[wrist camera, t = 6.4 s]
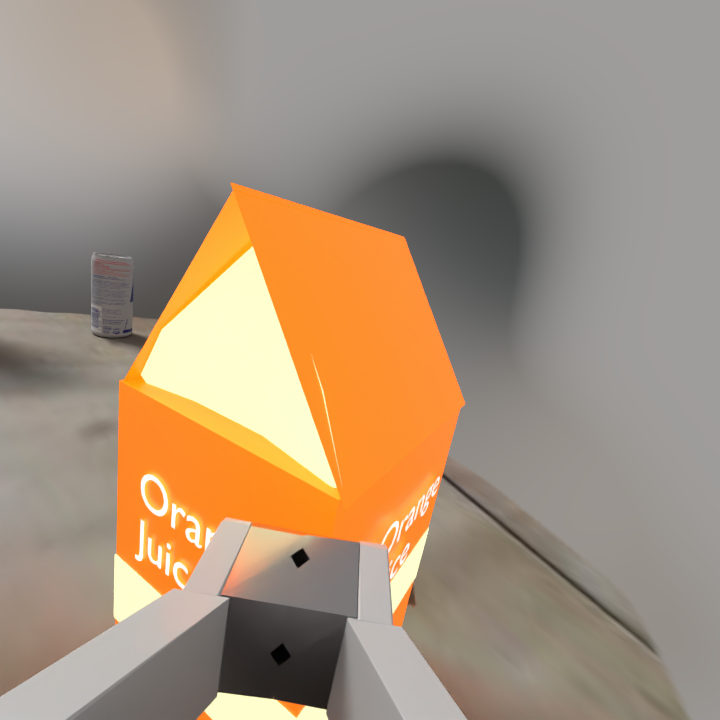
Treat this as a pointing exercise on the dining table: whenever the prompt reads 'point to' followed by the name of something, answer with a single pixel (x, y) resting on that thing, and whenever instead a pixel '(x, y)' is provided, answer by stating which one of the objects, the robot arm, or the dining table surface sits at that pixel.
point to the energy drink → (111, 295)
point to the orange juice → (283, 406)
